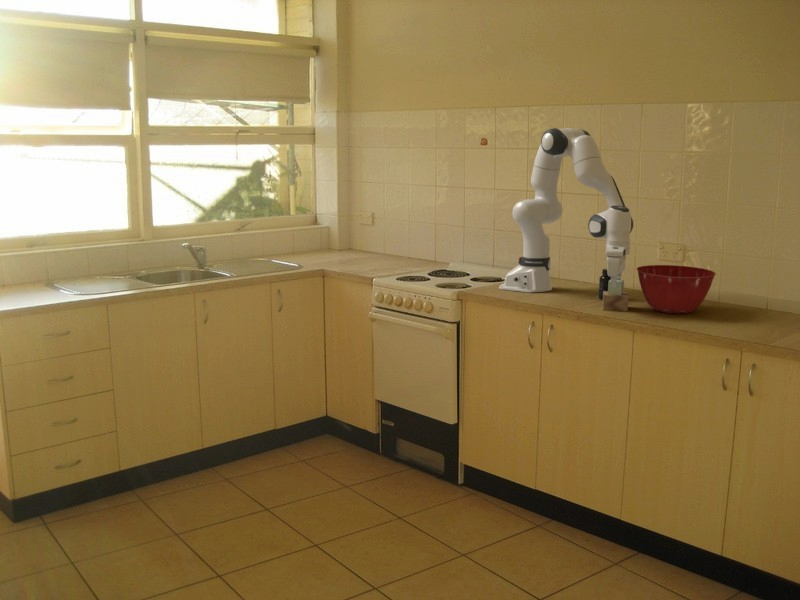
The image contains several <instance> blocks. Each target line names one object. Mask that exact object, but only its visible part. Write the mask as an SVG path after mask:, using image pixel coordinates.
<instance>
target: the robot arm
mask: <svg viewBox="0 0 800 600" xmlns="http://www.w3.org/2000/svg"><path fill="white" fill-rule="evenodd" d="M536 152H537V153H536V155H535V159H534V162H533V167H532V172H531V177H530V185H531V186H532V188H533V189H534V198H526V199H523V200H520V201H518V202H516V203H515V204H514V206H513V208H512V212H511V213H512V218H513V219H512V220H513V221H514V222H515V223H516V224H517V225H518V227H519V229H520V231H521V236H522V240H523V241H522V243H523V247H522V248H523V249H522V250H523V251H522V253H523V254H522V255H520V257H519V258H518V259H517V261H518V265H516V266H515V267H513V268H512V269H511V270H509V271H508V272H507V273H506V275H505V278H504V283H501V284H500V285H499V287H498V289H499V290H505V291H512V292H522V293H538V292H539V293H540V292H541V293H542V292H549V291H552V290H553V287H552V284H551V283H552V282H551V279H550V278H551V276H550V269H551V256H550V242H551V240H550V238H549V236H548V235H547V234H545V231H544V228H543V227H544V226H543V225H546V224H551V223H554V222H556V221H558V220H560V218H561V217H562V215H563V206H562V204H561V202H560V201H559V198H558V189H557V188H558V181H559V176H560V172H561V167H562V162H563V160H564V157H568V156H569V157H570V158H571V161H572V166H573V170H574V175H575V176H576V179H577V180H578V181H579V183H581V184H582V185H584V186H586V187H590V188H592V189H595V190H597V191H598V192H600V193H601V194H602V195H603V196H604V197H605V201H606V203H607V206H608V209H606V210H604V211H601V212H599V213H595V214H593V215H592V216H591V217H590V218H589V220H588V223H587V225H588V226H587V228H588V232H589V234H590V236H592V237H594V238H596V239H606V240H605V257H606V267H607V268H606V269H607V273H608V276H609V277H611V287H616V286H617V280H622V279H621V278H622V273H623V272H624V271H625V269H626V259H627V255H630V253H631V252H630V250H631V238H630V236H631V235H630V234H631V233H632V231H633V228H634V219H633V218H632V214H631V210H630V208H628V207H627V206H626V205H625V202H624V200H623V197H622V195H621V192H620V190H619V187H618V185H617V183H616V180H615V178H614V177H613V176H612V175H611V174H610V173H609V172H608V170H607V169H606V167H605V165H604V162H603V160H602V156H601V153H600V150H599V148H598V145H597V143H596V141H595V139H594V138H593V137H592V135H591V134H590V132H588V131H587V130H584V129H581V128H574V127H573V128H571V127H566V128H563V127H561V128H556V127H555V128H554V127H553V128H549V129H546V130H545V131H544V132H543V134H542V136H541V139H540V145H539V147H538V150H537V151H536Z"/></svg>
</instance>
